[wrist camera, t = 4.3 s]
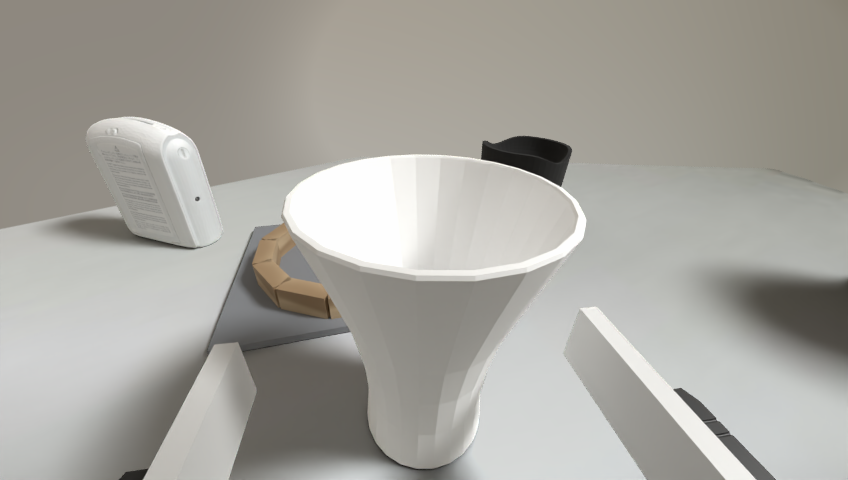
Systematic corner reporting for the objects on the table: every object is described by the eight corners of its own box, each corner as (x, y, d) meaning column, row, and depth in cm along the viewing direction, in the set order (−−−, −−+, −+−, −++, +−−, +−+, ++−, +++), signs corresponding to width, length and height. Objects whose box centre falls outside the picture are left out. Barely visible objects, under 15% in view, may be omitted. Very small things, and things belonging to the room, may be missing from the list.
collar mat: (423, 215, 41) (423, 211, 40) (481, 307, 26) (482, 302, 26) (256, 231, 36) (255, 226, 35) (209, 357, 21) (206, 351, 21)
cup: (319, 543, 13) (225, 296, 6) (338, 346, 22) (308, 155, 15) (550, 498, 15) (675, 261, 8) (480, 331, 24) (510, 152, 17)
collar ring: (410, 215, 39) (410, 201, 38) (455, 298, 26) (457, 278, 25) (273, 229, 35) (269, 213, 34) (243, 334, 22) (235, 313, 21)
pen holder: (473, 207, 44) (482, 133, 39) (542, 212, 43) (560, 137, 38) (472, 240, 36) (483, 152, 31) (557, 248, 35) (583, 159, 29)
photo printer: (232, 233, 35) (195, 118, 29) (199, 253, 32) (148, 126, 25) (163, 220, 38) (115, 110, 31) (125, 236, 34) (61, 116, 28)
